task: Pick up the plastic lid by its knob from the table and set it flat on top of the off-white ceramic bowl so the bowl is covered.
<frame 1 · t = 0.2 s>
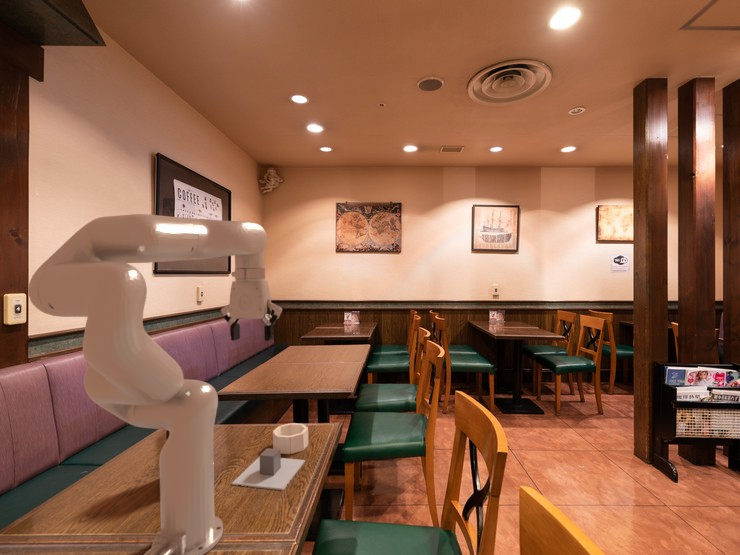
hand: (252, 339, 94), 36 cm above the table, tool pointing down, fingers open, 9 cm apart
coffee box: (189, 478, 93), on the table
lid: (270, 474, 95), on the table
bowl: (290, 446, 110), on the table
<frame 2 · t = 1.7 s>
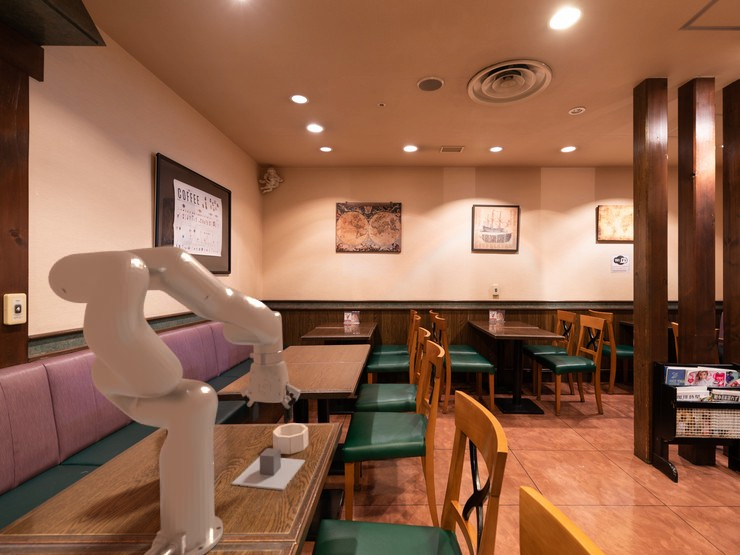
hand: (271, 420, 96), 14 cm above the table, tool pointing down, fingers open, 9 cm apart
nothing on the table moved.
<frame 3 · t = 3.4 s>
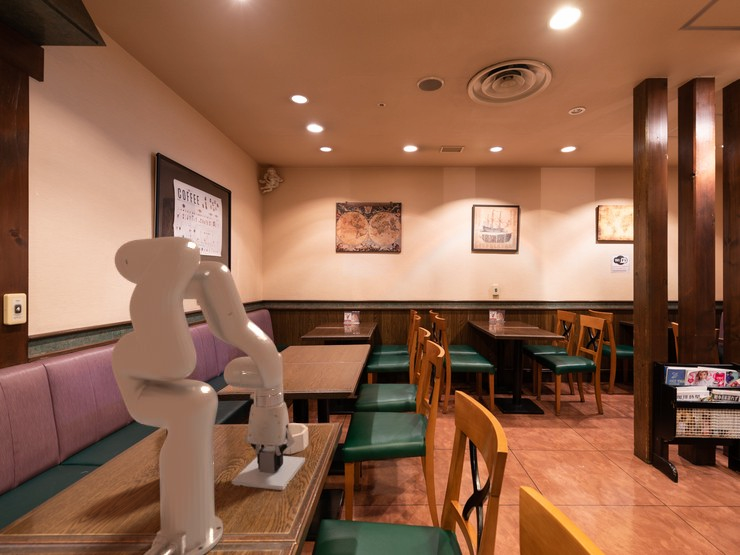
hand: (270, 466, 95), 2 cm above the table, tool pointing down, fingers closed on lid, 4 cm apart
lid: (270, 472, 95), on the table, touching gripper
everything else where it was.
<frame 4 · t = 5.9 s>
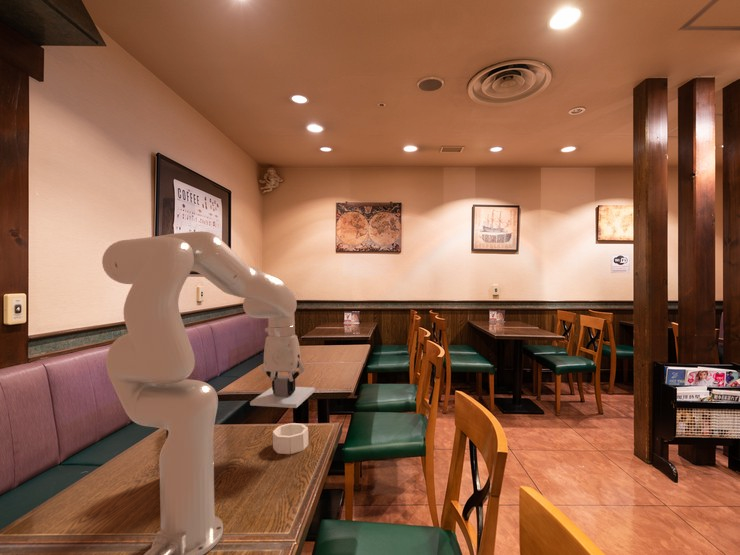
hand: (284, 392, 105), 18 cm above the table, tool pointing down, fingers closed on lid, 4 cm apart
lid: (284, 397, 105), point 17 cm above the table, touching gripper
everything else where it was.
when the fingers open (8 cm above the table, at t = 8.7 s): lid drops 2 cm, resting on bowl.
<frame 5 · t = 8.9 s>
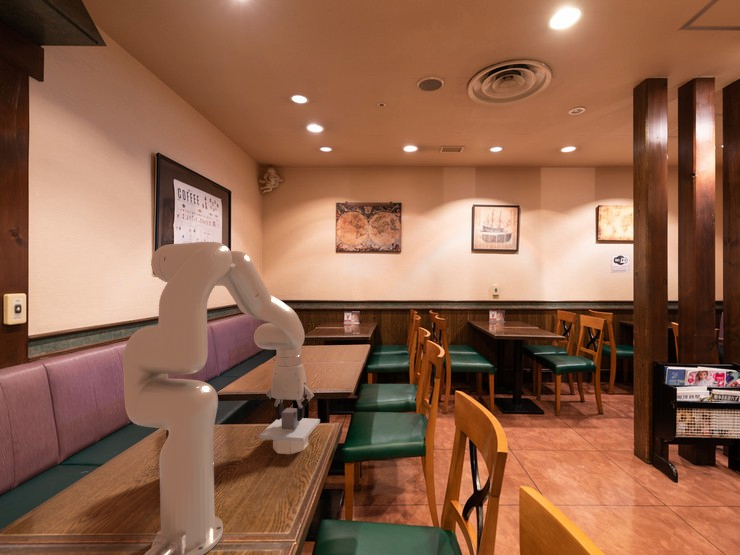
hand: (290, 418, 110), 9 cm above the table, tool pointing down, fingers open, 6 cm apart
lid: (290, 429, 110), point 5 cm above the table, touching bowl
everything else where it was.
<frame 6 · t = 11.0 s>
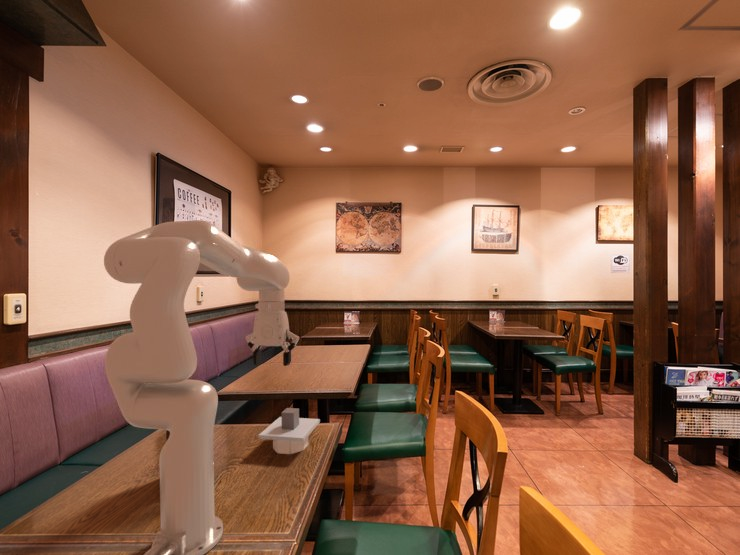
hand: (272, 364, 107), 26 cm above the table, tool pointing down, fingers open, 9 cm apart
nothing on the table moved.
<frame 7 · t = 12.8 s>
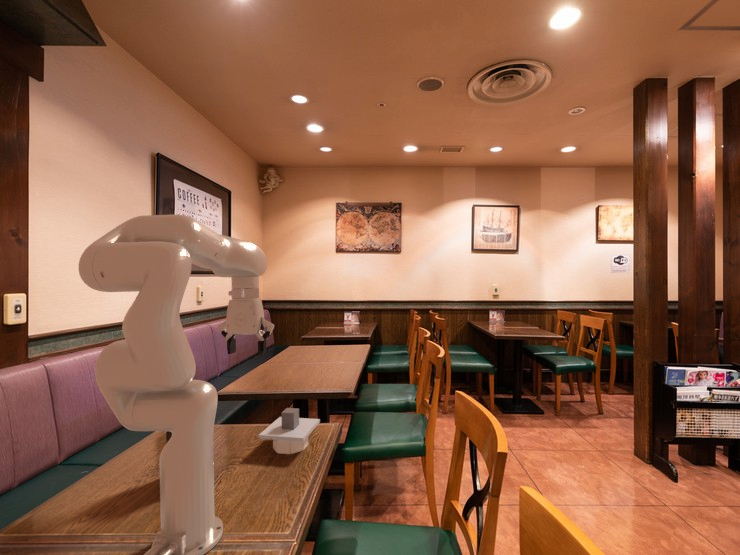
hand: (246, 353, 103), 30 cm above the table, tool pointing down, fingers open, 9 cm apart
nothing on the table moved.
at the end: lid 0.0 cm off-centre on the bowl, point 5.0 cm above the bowl's base; lid tilted 0°; the gripper is holding nothing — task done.
